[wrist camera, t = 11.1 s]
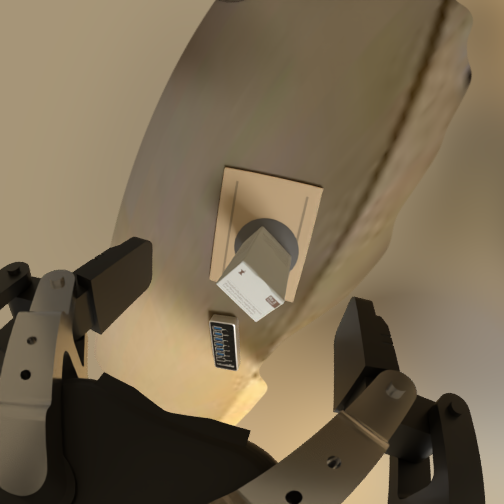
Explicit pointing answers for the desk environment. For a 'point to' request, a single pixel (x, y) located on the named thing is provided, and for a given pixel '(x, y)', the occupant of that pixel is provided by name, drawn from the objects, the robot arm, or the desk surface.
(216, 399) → the desk surface
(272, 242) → the skincare box
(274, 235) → the beige flat board
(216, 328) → the multiport hub
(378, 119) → the desk surface
